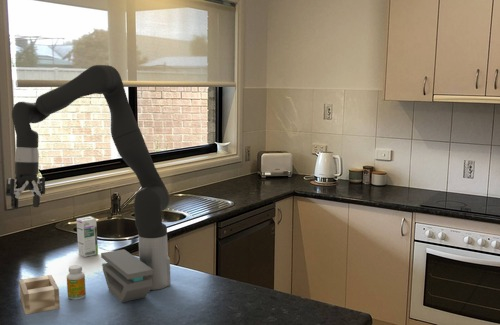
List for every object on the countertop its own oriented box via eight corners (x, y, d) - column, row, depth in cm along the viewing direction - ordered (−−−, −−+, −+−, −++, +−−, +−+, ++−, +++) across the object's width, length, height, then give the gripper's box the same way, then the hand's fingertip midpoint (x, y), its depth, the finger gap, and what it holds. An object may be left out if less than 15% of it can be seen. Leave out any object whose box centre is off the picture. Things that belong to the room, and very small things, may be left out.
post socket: (52, 292, 177) (51, 274, 176) (59, 308, 164) (58, 288, 164) (20, 298, 172) (19, 279, 171) (25, 314, 160) (24, 294, 159)
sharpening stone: (154, 304, 167) (153, 269, 165) (129, 309, 163) (127, 274, 161) (125, 280, 188) (124, 249, 186) (102, 284, 184) (101, 253, 182)
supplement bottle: (68, 301, 170) (66, 270, 169) (66, 295, 175) (65, 265, 173) (86, 298, 172) (85, 268, 171) (84, 292, 177) (83, 263, 176)
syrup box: (84, 257, 213) (82, 220, 211) (78, 254, 218) (76, 218, 216) (98, 254, 217) (96, 218, 215) (91, 251, 221) (89, 215, 219)
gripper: (16, 161, 181) (15, 210, 181) (51, 161, 193) (49, 207, 194) (1, 160, 184) (0, 208, 185) (36, 160, 197) (35, 205, 197)
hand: (25, 208), depth 189 cm, fingers open, 8 cm apart
